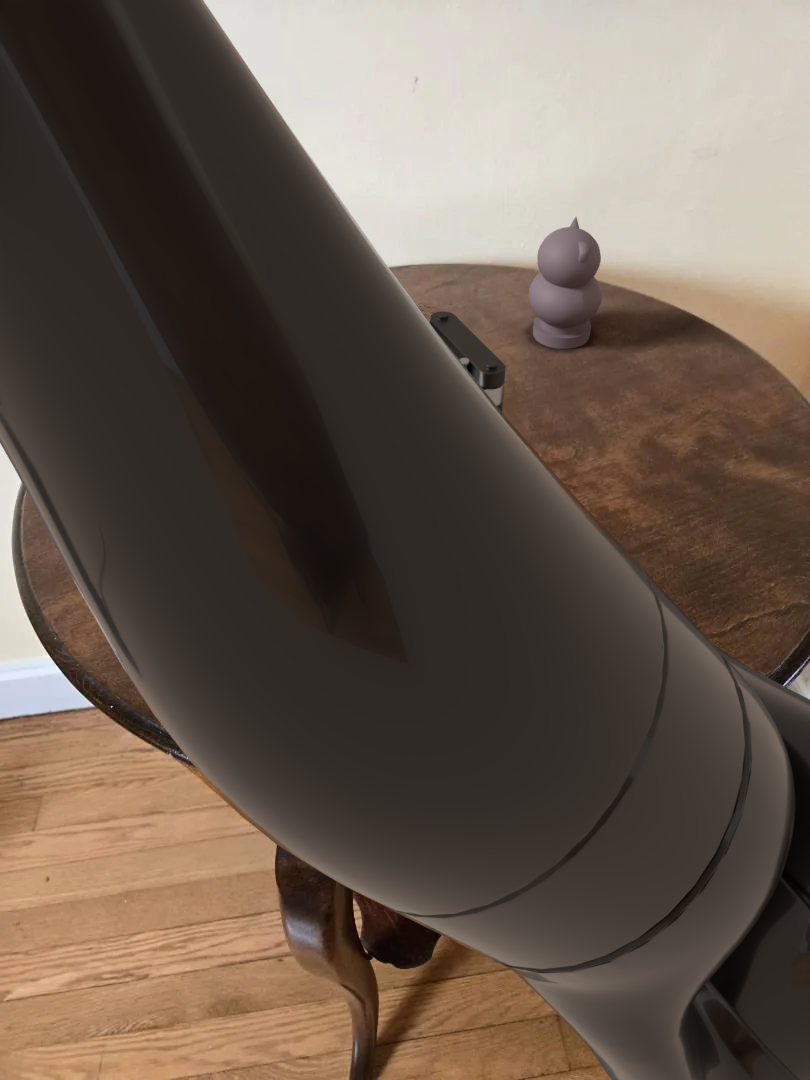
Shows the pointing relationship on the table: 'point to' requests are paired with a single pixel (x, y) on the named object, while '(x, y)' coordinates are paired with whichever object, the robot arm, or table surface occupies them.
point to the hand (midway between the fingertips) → (276, 327)
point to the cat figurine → (565, 288)
